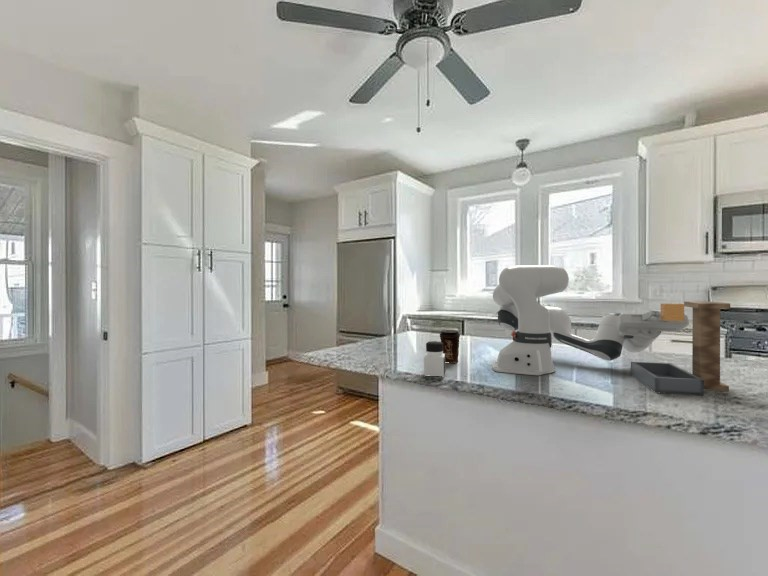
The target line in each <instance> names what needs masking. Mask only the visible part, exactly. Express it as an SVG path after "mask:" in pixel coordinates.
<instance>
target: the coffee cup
mask: <svg viewBox="0 0 768 576" xmlns="http://www.w3.org/2000/svg"><path fill="white" fill-rule="evenodd" d="M460 334H461V333H459V330H456V329H446V330H445V329H442V330H441V331H440V333H439V339H440V342H442V343H443V353H444V354H445V362H449V363H455V364H457V363H458V362H459V355H460V354H459V350H460V337H461V335H460ZM456 362H457V363H456Z"/></svg>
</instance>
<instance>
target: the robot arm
mask: <svg viewBox="0 0 768 576" xmlns="http://www.w3.org/2000/svg"><path fill="white" fill-rule="evenodd" d="M569 281H570V279H569V274H568V272H567V271H566V269H565V268H564V267H562V266H558V265H551V264H540V265H539V264H535V265H533V264H532V265H531V264H530V265H527V264H525V265H524V264H523V265H520V264H519V265H518V264H517V265H513V266H508V267H505V268H504V269H502V271H501V272H500V274H499V276H498V285H497V286H495V288H494V290H493V292H492V299H493V301H494V302H495V304H496V305H498V306H499V307H500V309H499V310H498V311H497V322H498V324H499V326H500V327H501V328H503V329H506V330H508V331H511V332H510V335H511V336H512V341H511V342H510V343H508V344H507V345H506V346H504V347H503V348H502V349H500V350H499V353H498V355H497V360H496V361H495V362H493V363H492V364H491V370H493V371H495V372H497V373H506V374H508V373H509V374H520V375H528V376H542V375H545V374H551V373H554V372H556V368H555V365H554V361H553V357H552V344H553V342H552V340H553V337H554V339H556V341H559V342H560V343H562V344H563V345H567V346H570V347H572V348H575V349H577V350H580V351H583V352H585V353H587V354H590V355H593V356H594V357H596V358H599V359H601V360H604V361H608V362H609V361H614V360H616V359H618V358H620V357H621V354H622V352H623V351H622V350H623V349H624V350H625V351H627V352H629V353H633V354H634V353H641V352H643V351H645V350H646V349H648V348H649V347H650V346H651V345H652V344H653V342H654V341H656V340H657V339H658V338H659V336H660V335H661V334H662V332H669V333H670V332H671V333H672V332H675V333H677V332H680V331H682V330H684V329H686V328H687V327H688V326H689V325H690V320H689V317H688V315H686V314H685V313H684V321H664V320H661V318H658V317H655V316H656V313H655V311H651V310H649V311H648V312H645V313H620V312H610V313H606V314H604V315H603V316H601V319H600V321H599V324H598V326H597V329H596V333H595V335H594V337H593V338H592V339H589V338H585V337H581V336H578V335H575V334H573V333H572V320H571V318H570V315H569V313H568V312H567V311H566V310H565V309H563V308H561V307H557V306H548V305H542V304H540V303H539V301H537V298H542V297H546V296H549V295H554V294H559V293H562V292H564V291H565V290H566V289H567V288H568V285H569ZM517 330H518V331H517ZM552 334H553V335H552ZM552 336H553V337H552Z"/></svg>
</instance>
